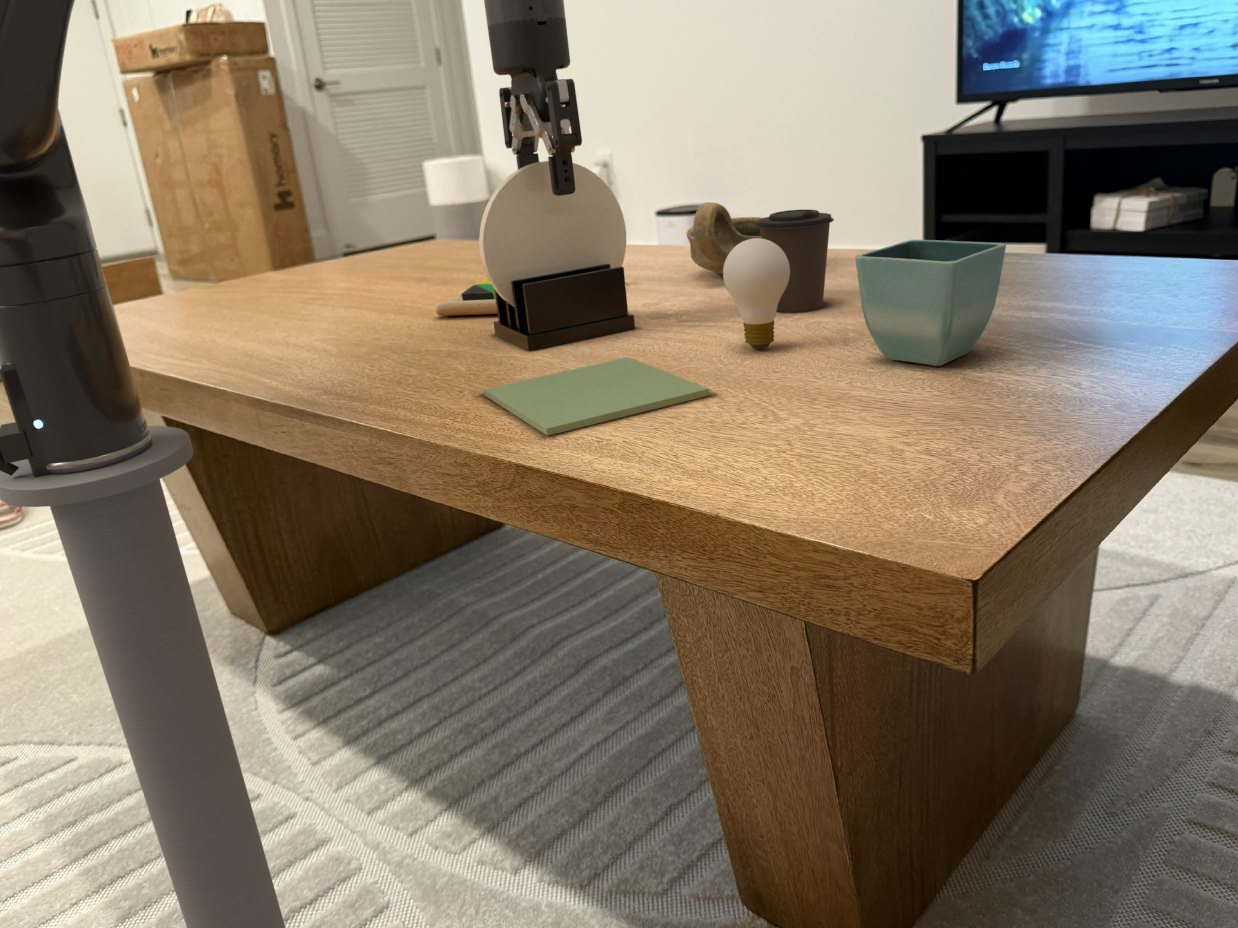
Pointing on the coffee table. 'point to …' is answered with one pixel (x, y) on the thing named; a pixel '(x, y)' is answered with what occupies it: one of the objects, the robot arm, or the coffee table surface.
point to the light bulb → (757, 286)
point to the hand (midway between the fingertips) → (547, 193)
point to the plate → (549, 227)
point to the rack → (564, 307)
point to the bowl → (718, 235)
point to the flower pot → (929, 297)
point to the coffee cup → (800, 255)
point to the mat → (592, 394)
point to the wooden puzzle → (471, 301)
